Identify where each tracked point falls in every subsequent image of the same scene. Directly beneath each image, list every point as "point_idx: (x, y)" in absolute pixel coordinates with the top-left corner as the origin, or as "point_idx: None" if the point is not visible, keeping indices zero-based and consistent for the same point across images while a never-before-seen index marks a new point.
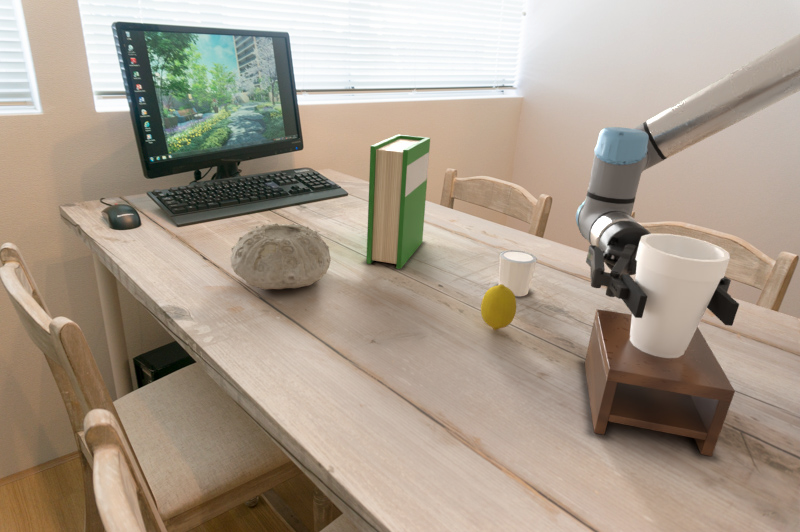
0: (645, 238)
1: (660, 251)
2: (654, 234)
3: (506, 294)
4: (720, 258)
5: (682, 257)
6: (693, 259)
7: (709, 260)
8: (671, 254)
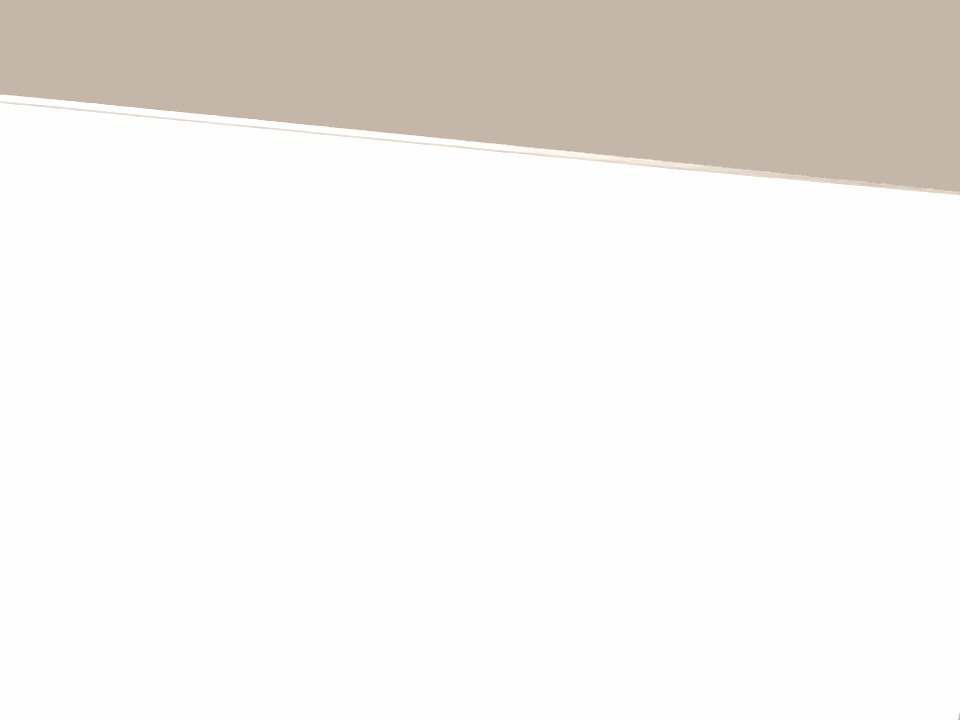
0: (938, 191)
1: (726, 167)
2: (525, 153)
3: None
4: (114, 106)
5: (532, 148)
6: (444, 139)
7: (292, 124)
8: (620, 157)
